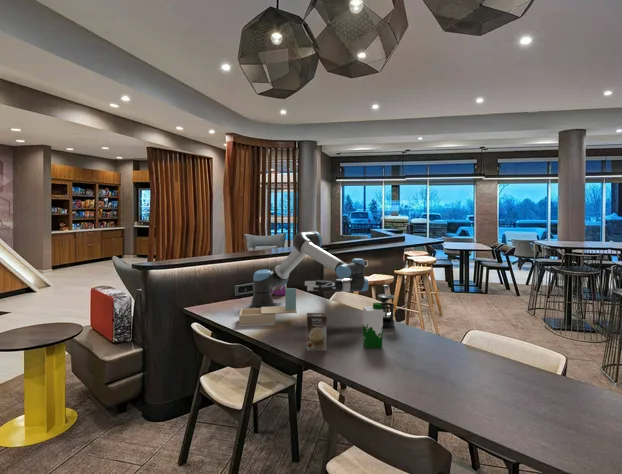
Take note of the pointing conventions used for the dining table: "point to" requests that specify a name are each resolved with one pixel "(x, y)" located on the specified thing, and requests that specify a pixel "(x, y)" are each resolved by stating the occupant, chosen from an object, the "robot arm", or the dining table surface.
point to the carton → (255, 317)
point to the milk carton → (373, 326)
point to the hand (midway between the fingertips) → (305, 285)
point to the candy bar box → (278, 290)
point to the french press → (388, 319)
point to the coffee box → (316, 331)
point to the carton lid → (289, 304)
